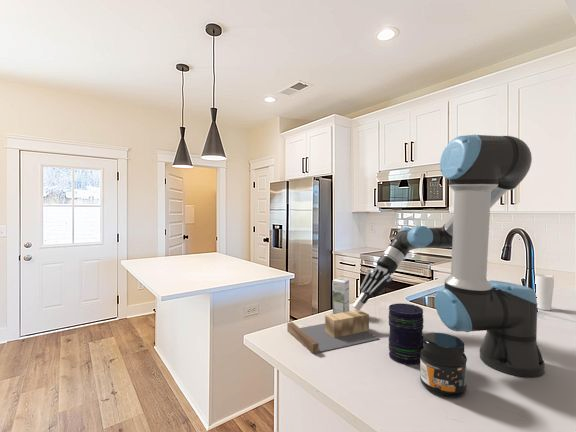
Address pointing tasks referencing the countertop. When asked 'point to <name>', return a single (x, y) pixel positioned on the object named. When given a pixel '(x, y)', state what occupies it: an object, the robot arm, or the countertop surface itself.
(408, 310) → the storage jar
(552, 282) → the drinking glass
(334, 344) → the mat
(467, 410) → the countertop surface
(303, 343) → the backstop strip
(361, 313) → the oak block
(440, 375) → the supplement container
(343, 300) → the syrup box
